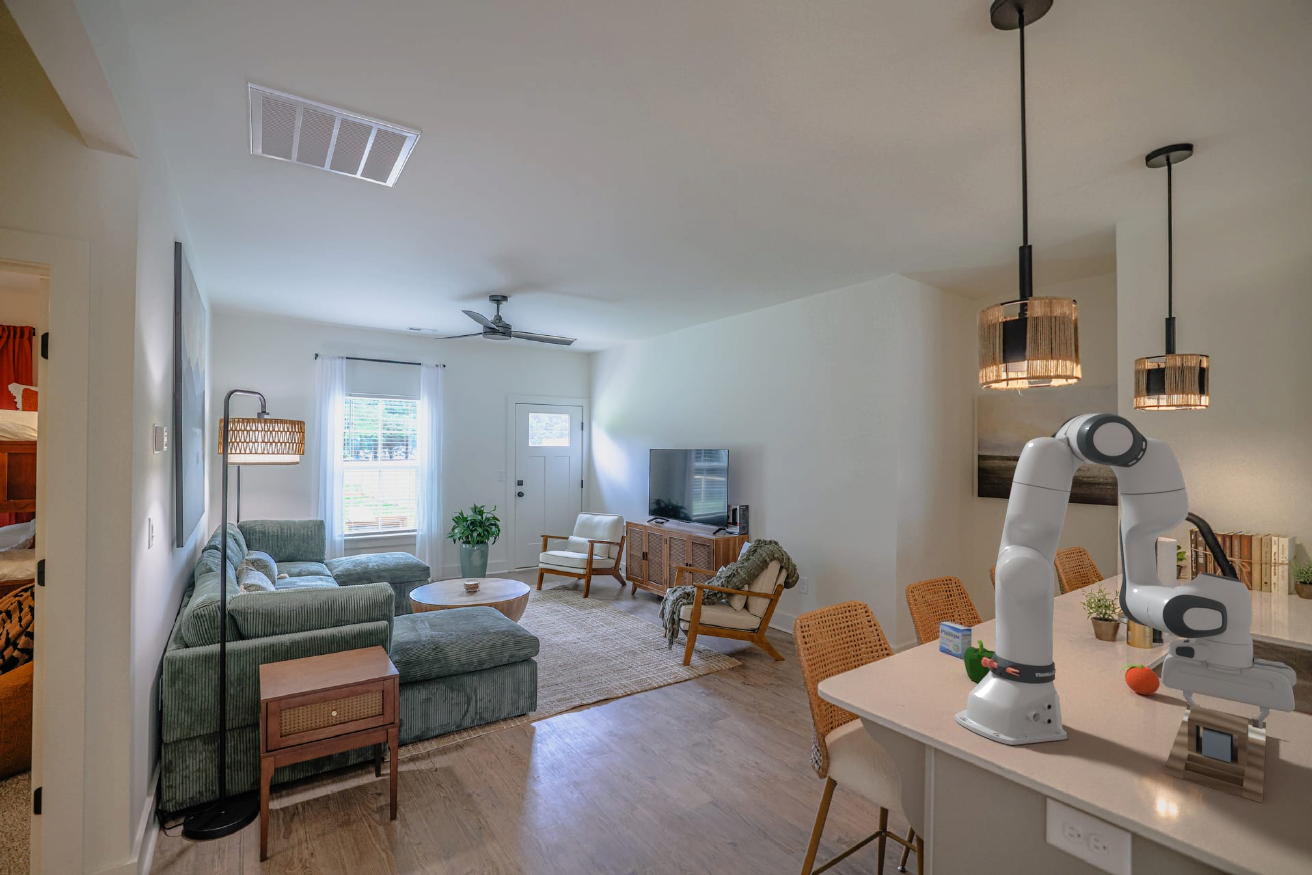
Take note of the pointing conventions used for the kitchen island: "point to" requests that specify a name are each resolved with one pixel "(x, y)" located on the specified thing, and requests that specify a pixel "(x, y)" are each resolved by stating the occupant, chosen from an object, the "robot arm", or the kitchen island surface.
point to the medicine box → (954, 639)
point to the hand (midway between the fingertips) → (1225, 720)
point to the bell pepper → (976, 662)
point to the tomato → (1141, 679)
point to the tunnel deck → (1226, 776)
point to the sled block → (1217, 744)
